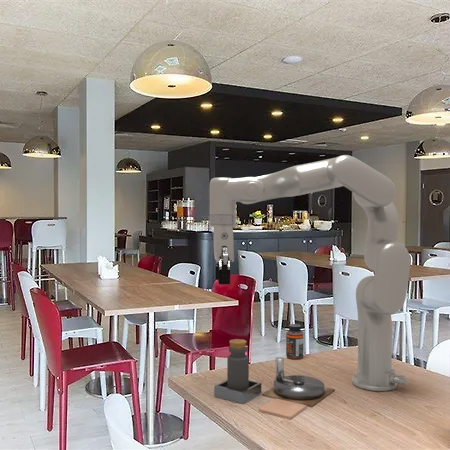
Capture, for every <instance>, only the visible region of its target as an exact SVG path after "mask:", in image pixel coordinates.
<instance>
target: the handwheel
mask: <svg viewBox="0 0 450 450" xmlns="http://www.w3.org/2000/svg"><path fill="white" fill-rule="evenodd" d="M273 387H274V392H275V393H276V394H277V395H279V396H282V397H285V398H289V399H297V400H308V399H315V398H318V397H321V396H322V395H323V394H324V387H325V383H324V381H322V380H321V379H319V378H316V377H312V376H309V375H295V374H293V375H285V358H284V357H280V356H279V357H275V379H274V380H273Z"/></svg>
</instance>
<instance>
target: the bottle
mask: <svg viewBox="0 0 450 450" xmlns="http://www.w3.org/2000/svg"><path fill="white" fill-rule="evenodd" d="M247 342H248V341H247V340H245V339H242V338H241V339H239V338H235V339H230V340H229V347H228V351H229V353H230V354H229V355H228V356H227V361H226V363H227V365H226V366H227V372H226V373H227V377H226V380H227V388H230V389H234V390H238V391H244V390H246V389H248V388H249V380H250V379H249V377H250V372H249V371H250V369H249V368H250V367H249V365H250V363H249V356H248V355H247V354H246V353H247V352H248V347H247Z"/></svg>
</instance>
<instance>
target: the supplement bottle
mask: <svg viewBox="0 0 450 450" xmlns="http://www.w3.org/2000/svg"><path fill="white" fill-rule="evenodd" d="M301 327H302V326H301V324H298V323H291V324H289V325H288V330H287V331H286V335H285V340H286V341H285V344H286V345H285V352H286V353H285V356H286V358H288V359H290V360H300V359H303V357H304V332H303V331H302V330H301Z"/></svg>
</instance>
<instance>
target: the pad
mask: <svg viewBox="0 0 450 450" xmlns="http://www.w3.org/2000/svg"><path fill="white" fill-rule="evenodd" d="M307 408H308V406H307V405H303V404H299V403H295V402H290V401H286V400H282V399H278V398H276V399H275V398H273V399H272V400H271V401H269V402H267V403H265V404H263V405H262V406H261V407H259V408H258V412H261V413H264V414H268V415H273V416H276V417H280V418H284V419H288V420H292V419H293V418H295V417H296V416H297V415H299V414H300V413H301V412H303V411H305V410H306V409H307Z"/></svg>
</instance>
